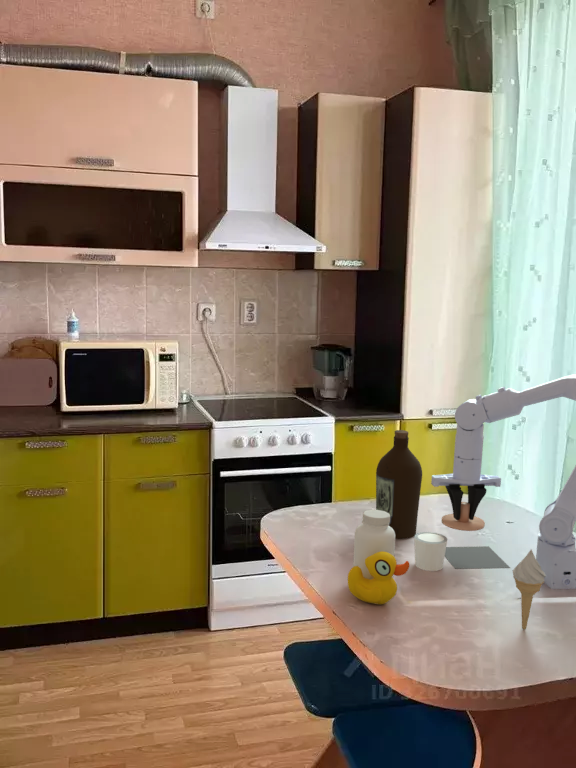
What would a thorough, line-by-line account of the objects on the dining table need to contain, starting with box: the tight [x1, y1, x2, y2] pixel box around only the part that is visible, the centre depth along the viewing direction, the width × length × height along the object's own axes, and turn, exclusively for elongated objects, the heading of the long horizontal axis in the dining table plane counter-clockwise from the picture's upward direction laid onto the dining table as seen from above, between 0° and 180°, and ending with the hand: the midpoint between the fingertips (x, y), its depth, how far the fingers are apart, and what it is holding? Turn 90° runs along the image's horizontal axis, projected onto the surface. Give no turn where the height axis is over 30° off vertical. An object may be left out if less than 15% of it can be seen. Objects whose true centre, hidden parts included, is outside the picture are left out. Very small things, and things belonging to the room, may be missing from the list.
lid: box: [441, 501, 486, 532], centre depth 160 cm, size 9×9×4 cm
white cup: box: [413, 531, 448, 572], centre depth 158 cm, size 7×7×7 cm
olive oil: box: [375, 429, 423, 540], centre depth 176 cm, size 11×11×25 cm
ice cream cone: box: [512, 548, 546, 631], centre depth 132 cm, size 6×6×15 cm
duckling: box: [347, 551, 410, 605], centre depth 141 cm, size 11×5×10 cm, turn 75°
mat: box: [444, 545, 511, 570], centre depth 164 cm, size 12×12×1 cm
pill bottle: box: [352, 509, 396, 579], centre depth 148 cm, size 8×8×15 cm
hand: (463, 518), depth 161 cm, fingers closed on lid, 2 cm apart
